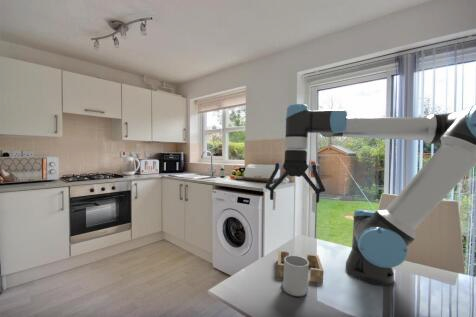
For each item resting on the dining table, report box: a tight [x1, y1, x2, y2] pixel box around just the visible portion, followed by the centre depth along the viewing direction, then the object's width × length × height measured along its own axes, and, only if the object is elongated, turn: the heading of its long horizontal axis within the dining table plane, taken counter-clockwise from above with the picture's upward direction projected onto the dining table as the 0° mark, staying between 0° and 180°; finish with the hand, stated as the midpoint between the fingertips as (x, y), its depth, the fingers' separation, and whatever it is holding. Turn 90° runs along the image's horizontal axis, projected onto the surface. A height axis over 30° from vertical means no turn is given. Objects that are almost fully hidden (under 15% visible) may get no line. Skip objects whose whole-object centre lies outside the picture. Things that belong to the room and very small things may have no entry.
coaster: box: [281, 281, 309, 297], centre depth 72 cm, size 8×8×1 cm
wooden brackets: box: [276, 250, 325, 284], centre depth 83 cm, size 15×12×4 cm
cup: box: [282, 254, 310, 297], centre depth 71 cm, size 7×10×9 cm
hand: (293, 210), depth 80 cm, fingers open, 13 cm apart
